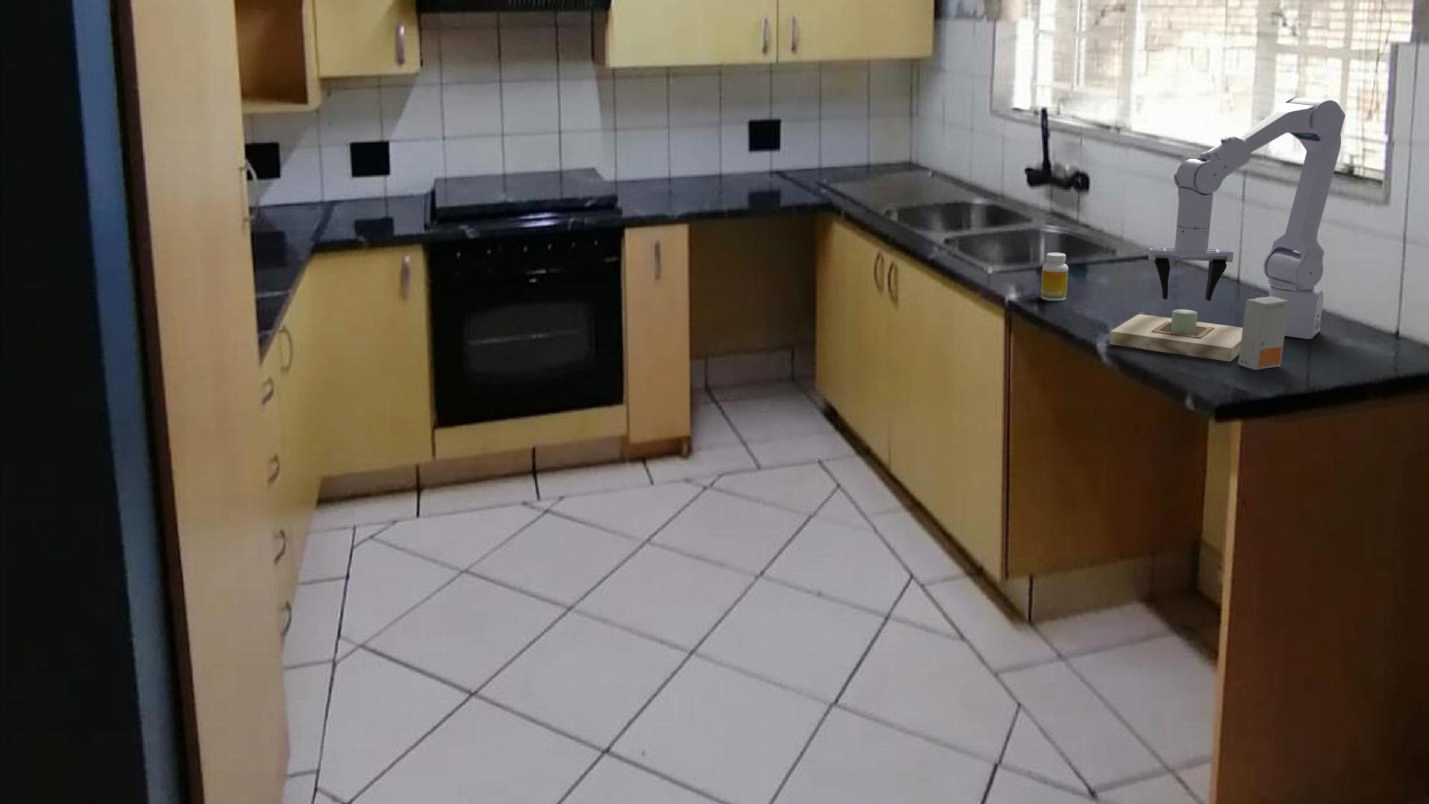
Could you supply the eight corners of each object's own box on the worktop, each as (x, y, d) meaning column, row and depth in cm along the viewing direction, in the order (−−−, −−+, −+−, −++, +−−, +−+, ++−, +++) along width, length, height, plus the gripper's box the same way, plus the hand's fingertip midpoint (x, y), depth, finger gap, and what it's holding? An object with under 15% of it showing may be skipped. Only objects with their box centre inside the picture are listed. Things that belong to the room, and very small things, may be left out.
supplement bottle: (1067, 301, 278) (1070, 256, 275) (1041, 301, 279) (1044, 256, 276) (1065, 296, 283) (1068, 252, 280) (1039, 295, 284) (1042, 251, 281)
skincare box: (1255, 371, 226) (1263, 304, 223) (1237, 365, 230) (1244, 299, 227) (1282, 366, 229) (1290, 300, 225) (1263, 361, 233) (1271, 295, 229)
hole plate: (1253, 342, 245) (1255, 328, 244) (1230, 361, 232) (1231, 347, 231) (1137, 326, 257) (1138, 313, 256) (1109, 344, 245) (1110, 330, 244)
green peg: (1192, 340, 246) (1195, 309, 244) (1195, 346, 242) (1198, 315, 240) (1167, 339, 247) (1170, 309, 245) (1170, 345, 243) (1173, 314, 241)
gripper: (1231, 223, 240) (1224, 295, 244) (1149, 221, 243) (1143, 292, 247) (1238, 230, 234) (1230, 303, 238) (1153, 228, 237) (1147, 301, 241)
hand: (1186, 298), depth 242 cm, fingers open, 7 cm apart
